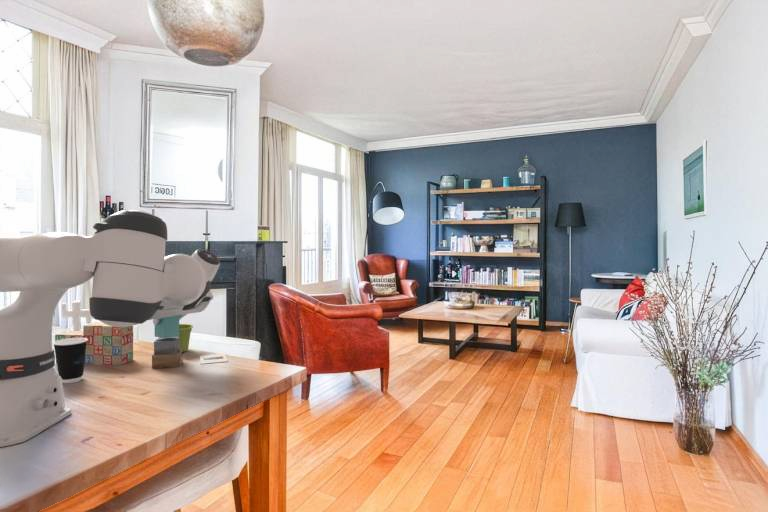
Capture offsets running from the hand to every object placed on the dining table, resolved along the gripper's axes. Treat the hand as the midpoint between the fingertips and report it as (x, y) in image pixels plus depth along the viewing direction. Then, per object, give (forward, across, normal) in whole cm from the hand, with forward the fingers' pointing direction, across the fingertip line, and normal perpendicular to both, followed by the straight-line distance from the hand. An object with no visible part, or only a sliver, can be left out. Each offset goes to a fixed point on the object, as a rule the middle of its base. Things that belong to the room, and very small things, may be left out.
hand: (165, 321), depth 139 cm
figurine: (+51, +2, +32) cm, 60 cm away
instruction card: (+5, +12, -14) cm, 19 cm away
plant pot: (+18, +12, -2) cm, 21 cm away
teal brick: (+3, 0, -4) cm, 4 cm away
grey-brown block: (+9, 0, -10) cm, 13 cm away
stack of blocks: (+25, -10, +6) cm, 28 cm away
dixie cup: (+15, -23, -4) cm, 28 cm away
